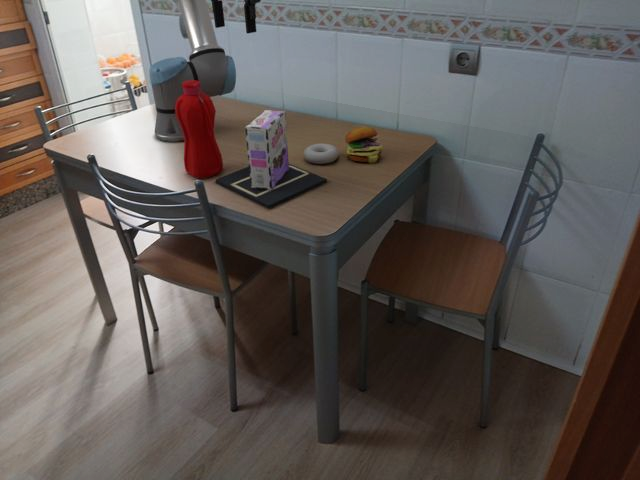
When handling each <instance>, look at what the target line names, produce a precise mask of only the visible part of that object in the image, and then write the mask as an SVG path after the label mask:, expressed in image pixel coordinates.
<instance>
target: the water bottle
mask: <svg viewBox="0 0 640 480" xmlns="http://www.w3.org/2000/svg"><path fill="white" fill-rule="evenodd" d="M182 85H183V91H184V94H183V95H182V96H180V97H179V98H178V99H177V101H176V105H175V113H176V117H177V120H178V122H179V124H180V127H181V129H182V131H183V134H184V139H185V141H184V148H183V164H184V169H185V171H186V173H187V174H188V175H189V176H192V177H194V178H197V179H202V180H203V179H208V178H210V177H212V176H215V175H217V174H220V173H221V172H222V171H223V169H224V161H223V156H222V153H221V150H220V148H219V145H218V142H217V139H216V137H215V136H216V135H215V124H216V123H215V121H216V112H217V111H216V107H215V104H214V102H213V99H212V98H211V97H209V96H207V95H206V94H204V93H202V92H201V89H200V82H199V81H196V80H191V81H186V82H183V83H182Z"/></svg>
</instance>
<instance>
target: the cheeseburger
mask: <svg viewBox="0 0 640 480" xmlns="http://www.w3.org/2000/svg"><path fill="white" fill-rule="evenodd" d="M377 135H378V133H377V131H376V129H375V128H374V127H369V126H361V127H358V128H354V129H352V130H351V131H348V133H347V134H346V135H345V141H344V142H345V143H346V144H347V149H346V154H347V156H348V157H349V159H350V160H351V161H355V162H362V163H369V164H374V163H377V161H378V159H380V157H381V155H382V151H383V146H382V144H381V143H380V142H379V141H378V140H379V138H378V137H377Z"/></svg>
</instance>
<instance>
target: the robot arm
mask: <svg viewBox="0 0 640 480" xmlns="http://www.w3.org/2000/svg"><path fill="white" fill-rule="evenodd" d="M210 1H211V8H212V13H213V18H214V19H213V20H214V25H213V21H212V18H211V14H210V11H209V7H208V3H207V0H177V3H178V5H179V9H180V13H181V16H182V20H183V24H184V28H185V31H186V36H187V38H188V42H189V46H190V50H191V52H190V54H189V55H188V61H187V59H186V58H185V57H184V56H175V57H168V58H164V59H161V60H158V61H156V62H154V63H152V64H151V66H150V67H149V71H148V73H149V83H150V85H151V91H152V95H153V100H154V104H155V109H156V118H155V125H154V135H155V138H156V139H157V140H158V141H161V142H166V143H167V142H168V143H179V142H185V139H184V134H183V131H182V129H181V127H180V124H179V122H178V120H177V117H176V113H175V105H176V101H177V99H178V98H179V97H180V96H182V95H183V94H184V91H183V85H182V83H183V82H186V81H191V80H196V81H199V82H200V89H201V92H202V93H204V94H206V95H207V96H209V97H210V98H211V97H217V96H219V97H221V96H223V95H228V94H231V93H233V92H234V90H235V88H236V84H237V68H236V64H235V61H234V59H233V57H232V56H231V55H227V54H226V52H225V49H224V48H223V47H221V46H220V45H219V44H218V40H217V36H216V33H215V29H219V28H223V27H226V23H225V13H224V5H223V0H210ZM243 1H244V4H243V11H244V23H245V29H246V30H245V33H246V34H253V33H257V22H256V21H257V20H256V19H257V12H256V11H257V10H256V5H257V4H258V3H261V1H262V0H243ZM214 28H215V29H214Z"/></svg>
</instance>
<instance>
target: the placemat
mask: <svg viewBox="0 0 640 480" xmlns="http://www.w3.org/2000/svg"><path fill="white" fill-rule="evenodd" d="M326 183H328V179H327V178H325V177H324V176H321V175H318V174H316V173H313V172H311V171H308V170H305V169H303V168H300V167H298V166H295V165H293V164H290V163H289V170H288V171H287V172H286V173H285V174H284V176H283V177H282V178H281V179H280V181H279V182H278V183H277V184H276V185H275V187H274V188H273V189H272V190H265V189H257V188H251V181H250V171H249V166H247V167H243V168H241V169H239V170H236V171H233V172H230V173H228V174H225V175H223V176H221V177H218V178H215V184H217V185H220V186H222V187H223V188H226V189H228V190H230V191H232V192H234V193H236V194H238V195H240V196H242V197H245V198H246V199H249V200H250V201H252V202H253V203H257V204H258V205H260V206H263V207H265V208H267V209H269V210H270V209H272V208H274V207H276V206H279V205H281V204H283V203H285V202H287V201H290V200H291V199H294V198H296V197H298V196H300V195H302V194H305V193H306V192H309V191H311V190H313V189H315V188H318V187H320V186H322V185H324V184H326Z"/></svg>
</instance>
